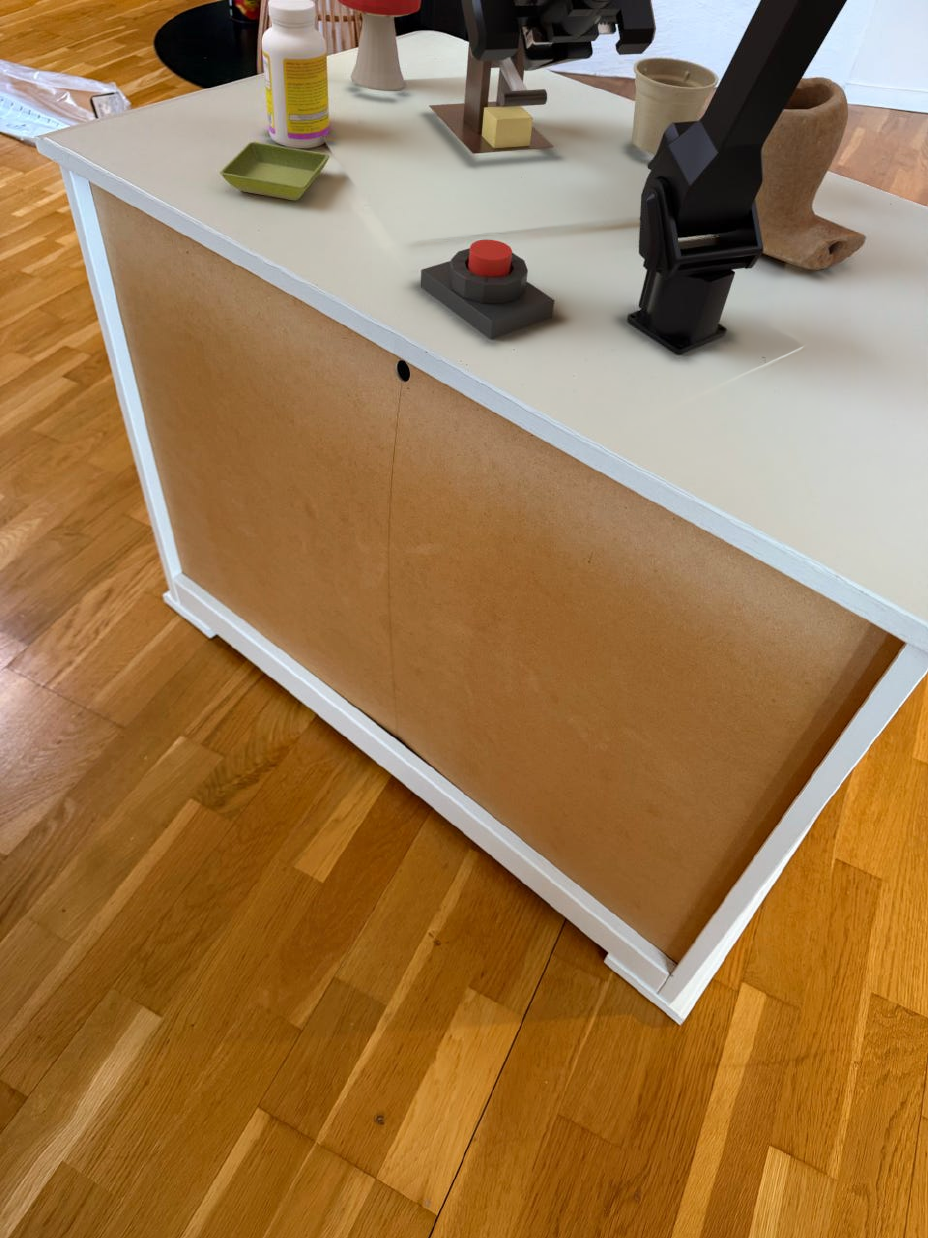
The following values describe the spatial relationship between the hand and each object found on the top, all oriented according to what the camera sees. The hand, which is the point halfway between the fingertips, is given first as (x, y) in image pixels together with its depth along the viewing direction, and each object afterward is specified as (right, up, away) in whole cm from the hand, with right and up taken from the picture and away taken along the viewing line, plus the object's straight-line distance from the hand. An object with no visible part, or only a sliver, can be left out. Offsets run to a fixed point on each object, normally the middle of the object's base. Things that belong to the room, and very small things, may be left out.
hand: (526, 65), depth 92 cm
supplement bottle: (-25, -4, +7) cm, 26 cm away
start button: (-4, -27, -15) cm, 31 cm away
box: (-5, -29, -13) cm, 32 cm away
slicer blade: (-2, +1, +5) cm, 5 cm away
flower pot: (+16, -3, +13) cm, 21 cm away
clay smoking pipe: (+24, -19, -1) cm, 31 cm away
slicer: (-4, -1, +12) cm, 12 cm away
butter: (-2, -3, +8) cm, 9 cm away
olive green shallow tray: (-26, -13, -1) cm, 29 cm away
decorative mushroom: (-17, +8, +18) cm, 26 cm away
